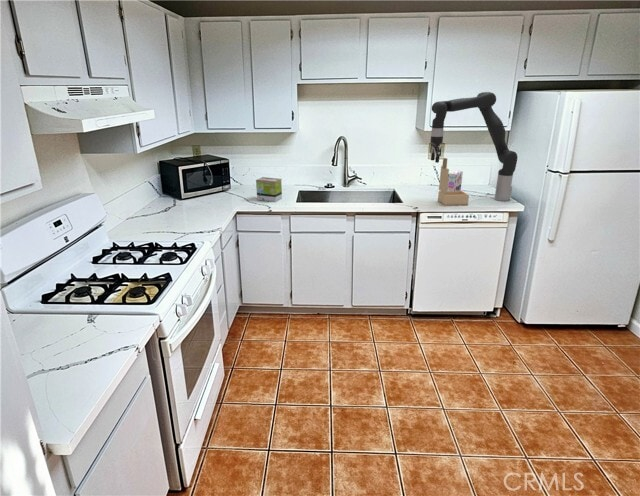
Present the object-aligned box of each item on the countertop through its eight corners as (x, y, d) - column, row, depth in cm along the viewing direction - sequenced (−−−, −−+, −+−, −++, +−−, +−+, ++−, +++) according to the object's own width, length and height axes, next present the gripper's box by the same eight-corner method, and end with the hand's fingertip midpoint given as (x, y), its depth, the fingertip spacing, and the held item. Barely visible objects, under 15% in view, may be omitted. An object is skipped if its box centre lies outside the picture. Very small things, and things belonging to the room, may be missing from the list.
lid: (443, 156, 269) (440, 156, 269) (450, 159, 258) (447, 159, 258) (440, 189, 277) (437, 189, 277) (446, 194, 266) (443, 194, 266)
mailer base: (460, 200, 281) (461, 190, 279) (467, 205, 270) (468, 194, 268) (437, 201, 280) (438, 191, 278) (443, 205, 269) (445, 195, 267)
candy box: (453, 197, 290) (456, 174, 283) (445, 196, 293) (448, 173, 287) (460, 193, 300) (463, 171, 294) (452, 192, 303) (455, 170, 297)
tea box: (256, 200, 286) (255, 179, 281) (263, 197, 295) (262, 176, 289) (275, 202, 281) (274, 181, 276) (282, 198, 290) (281, 178, 284)
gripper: (446, 136, 252) (444, 163, 258) (439, 134, 265) (436, 159, 271) (434, 136, 251) (432, 163, 257) (427, 134, 264) (425, 159, 270)
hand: (434, 161), depth 264 cm, fingers open, 8 cm apart
